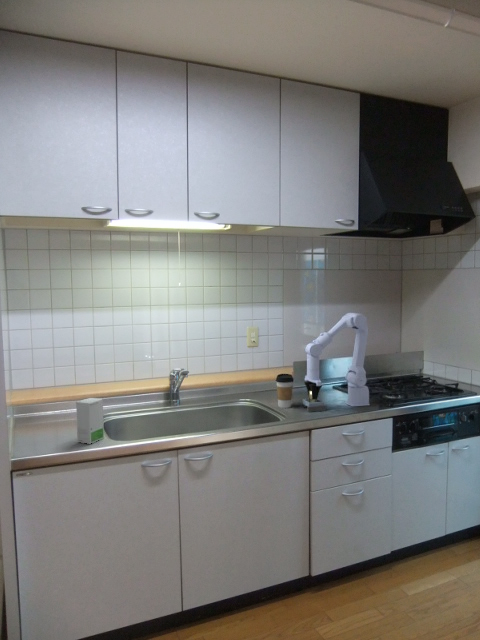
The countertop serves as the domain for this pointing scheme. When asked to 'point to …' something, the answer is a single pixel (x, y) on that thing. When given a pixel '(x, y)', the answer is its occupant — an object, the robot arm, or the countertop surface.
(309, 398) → the brass cylinder
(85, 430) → the skincare box
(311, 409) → the stop
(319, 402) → the grey square tray
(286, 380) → the coffee cup
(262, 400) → the countertop surface
